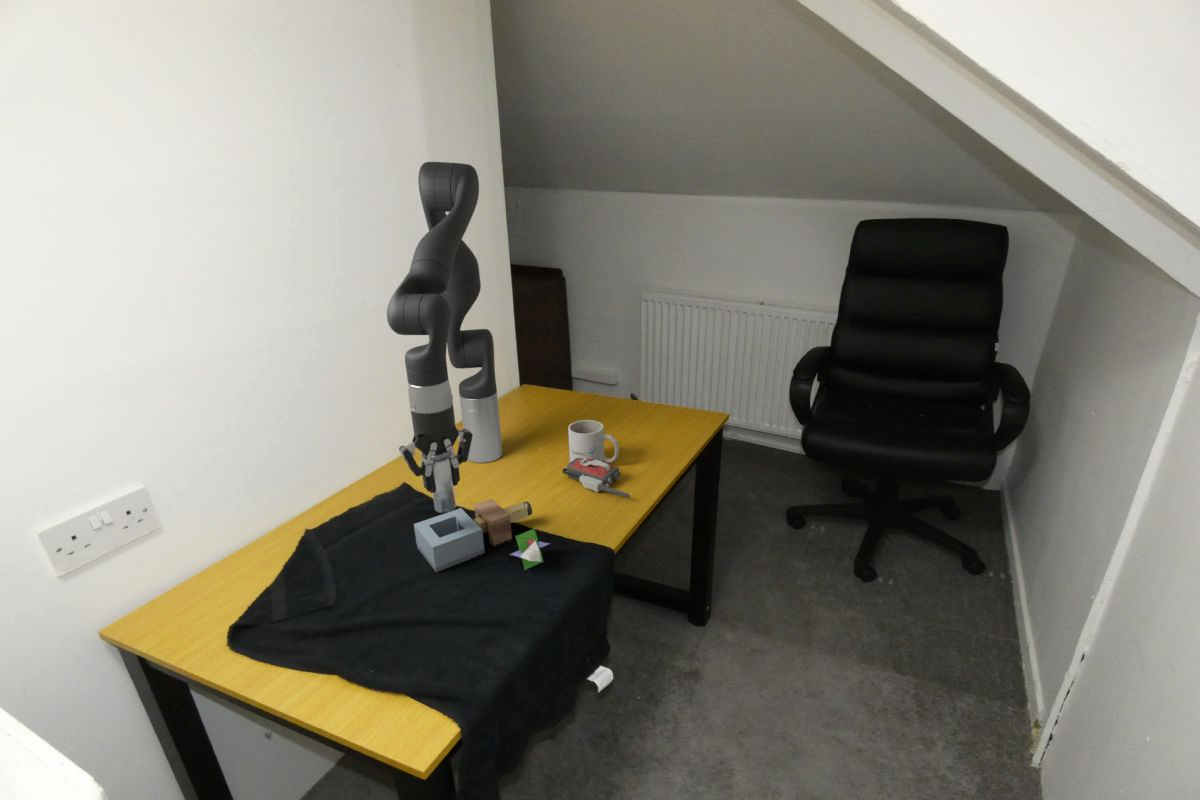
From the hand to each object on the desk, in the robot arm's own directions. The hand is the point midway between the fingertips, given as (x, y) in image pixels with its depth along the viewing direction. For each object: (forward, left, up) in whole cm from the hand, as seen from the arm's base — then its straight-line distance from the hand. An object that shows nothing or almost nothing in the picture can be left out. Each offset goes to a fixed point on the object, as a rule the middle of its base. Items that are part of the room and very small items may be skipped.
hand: (442, 487), depth 125 cm
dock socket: (0, 0, -14) cm, 14 cm away
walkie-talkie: (-4, +39, -14) cm, 42 cm away
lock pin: (0, +12, -12) cm, 17 cm away
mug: (-13, +43, -14) cm, 47 cm away
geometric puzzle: (+13, +11, -14) cm, 22 cm away
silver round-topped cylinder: (0, 0, -4) cm, 4 cm away
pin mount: (0, +9, -14) cm, 17 cm away
